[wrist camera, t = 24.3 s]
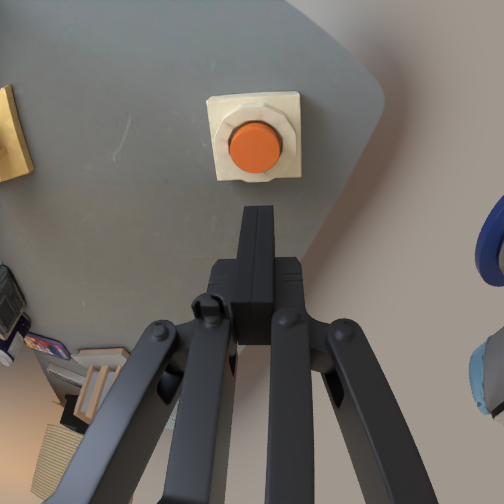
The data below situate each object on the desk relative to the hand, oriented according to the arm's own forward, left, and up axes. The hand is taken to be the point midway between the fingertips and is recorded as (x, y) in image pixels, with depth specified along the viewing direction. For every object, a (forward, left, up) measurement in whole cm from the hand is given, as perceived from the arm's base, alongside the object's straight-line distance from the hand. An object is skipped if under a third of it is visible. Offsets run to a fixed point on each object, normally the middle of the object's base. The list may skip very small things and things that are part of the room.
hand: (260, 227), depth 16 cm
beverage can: (+55, +30, -15) cm, 64 cm away
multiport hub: (+55, +55, -15) cm, 79 cm away
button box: (+1, -1, -15) cm, 15 cm away
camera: (+50, +20, -15) cm, 56 cm away
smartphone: (+55, +40, -15) cm, 69 cm away
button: (+1, -1, -11) cm, 11 cm away
